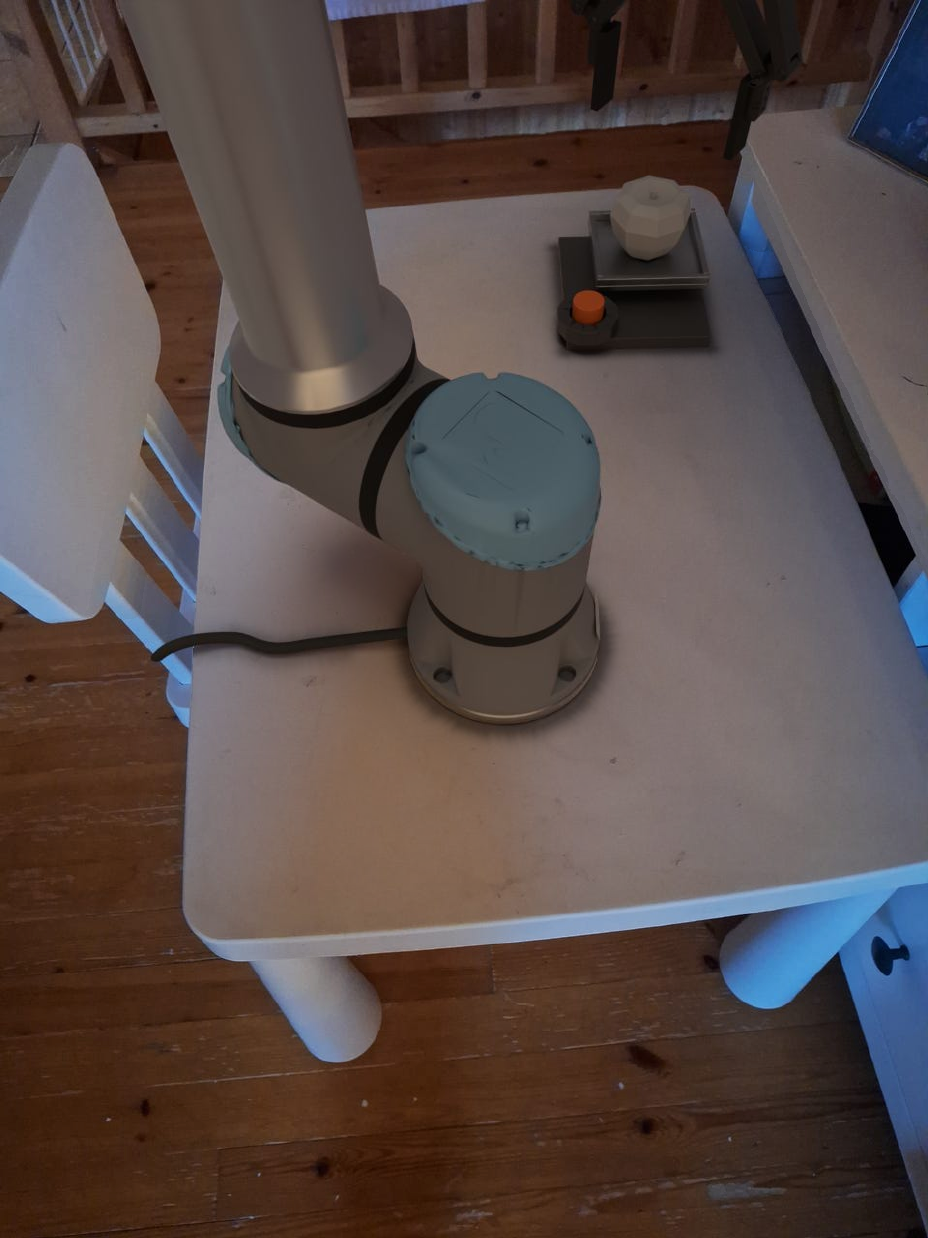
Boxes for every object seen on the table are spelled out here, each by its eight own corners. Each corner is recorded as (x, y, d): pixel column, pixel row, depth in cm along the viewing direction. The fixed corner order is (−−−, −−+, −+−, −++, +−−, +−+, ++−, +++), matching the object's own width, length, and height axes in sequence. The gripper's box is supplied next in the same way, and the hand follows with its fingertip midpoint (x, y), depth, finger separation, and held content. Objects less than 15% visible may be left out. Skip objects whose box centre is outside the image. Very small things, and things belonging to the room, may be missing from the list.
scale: (557, 357, 89) (559, 333, 86) (548, 248, 98) (550, 223, 95) (709, 354, 89) (716, 329, 86) (687, 244, 97) (692, 219, 95)
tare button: (573, 325, 87) (574, 311, 86) (571, 305, 89) (572, 290, 87) (604, 325, 87) (606, 310, 86) (601, 304, 89) (603, 289, 87)
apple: (677, 223, 94) (689, 162, 88) (690, 272, 90) (703, 212, 84) (600, 226, 94) (607, 166, 88) (610, 276, 90) (617, 216, 84)
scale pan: (595, 291, 89) (597, 279, 88) (587, 222, 95) (589, 210, 94) (707, 288, 89) (710, 276, 88) (692, 219, 95) (695, 207, 94)
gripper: (538, -194, 65) (527, 102, 83) (863, -116, 57) (773, 195, 75) (594, -225, 69) (572, 67, 87) (910, -155, 60) (813, 152, 78)
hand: (666, 127), depth 81 cm, fingers open, 13 cm apart
